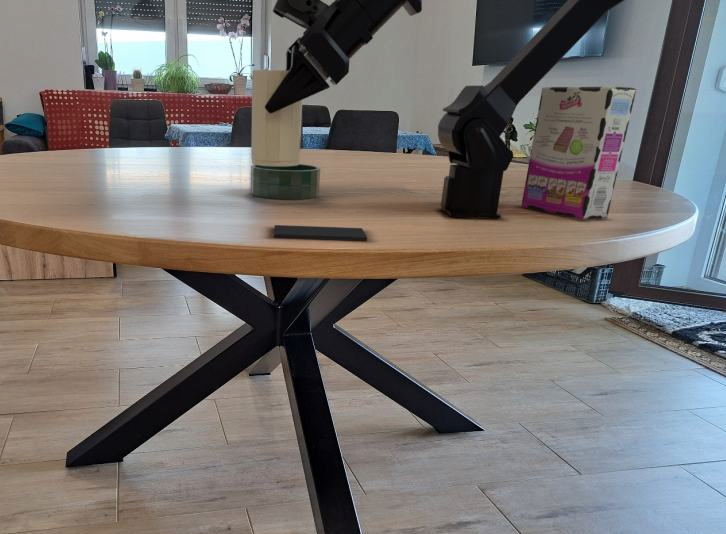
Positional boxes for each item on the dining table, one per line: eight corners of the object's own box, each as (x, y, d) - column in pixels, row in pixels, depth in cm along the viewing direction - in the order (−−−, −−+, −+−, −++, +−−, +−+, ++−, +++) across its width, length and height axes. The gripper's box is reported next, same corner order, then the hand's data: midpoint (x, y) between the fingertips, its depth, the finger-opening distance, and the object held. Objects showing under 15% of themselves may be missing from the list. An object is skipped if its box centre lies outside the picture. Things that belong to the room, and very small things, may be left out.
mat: (361, 231, 73) (362, 228, 73) (366, 241, 68) (367, 237, 68) (274, 228, 73) (274, 224, 73) (273, 237, 68) (273, 234, 68)
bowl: (316, 194, 98) (318, 164, 97) (319, 205, 89) (321, 172, 87) (252, 192, 98) (252, 162, 97) (248, 202, 89) (249, 169, 88)
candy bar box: (609, 219, 85) (639, 87, 79) (583, 221, 83) (612, 86, 77) (544, 205, 95) (566, 86, 89) (519, 207, 93) (540, 85, 87)
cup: (288, 161, 86) (291, 72, 81) (306, 166, 80) (311, 71, 76) (245, 161, 83) (246, 70, 79) (261, 166, 78) (263, 69, 74)
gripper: (307, -30, 82) (221, 61, 86) (325, -61, 65) (217, 54, 68) (362, 40, 85) (278, 124, 89) (394, 27, 68) (288, 133, 72)
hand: (265, 109), depth 79 cm, fingers closed on cup, 6 cm apart
